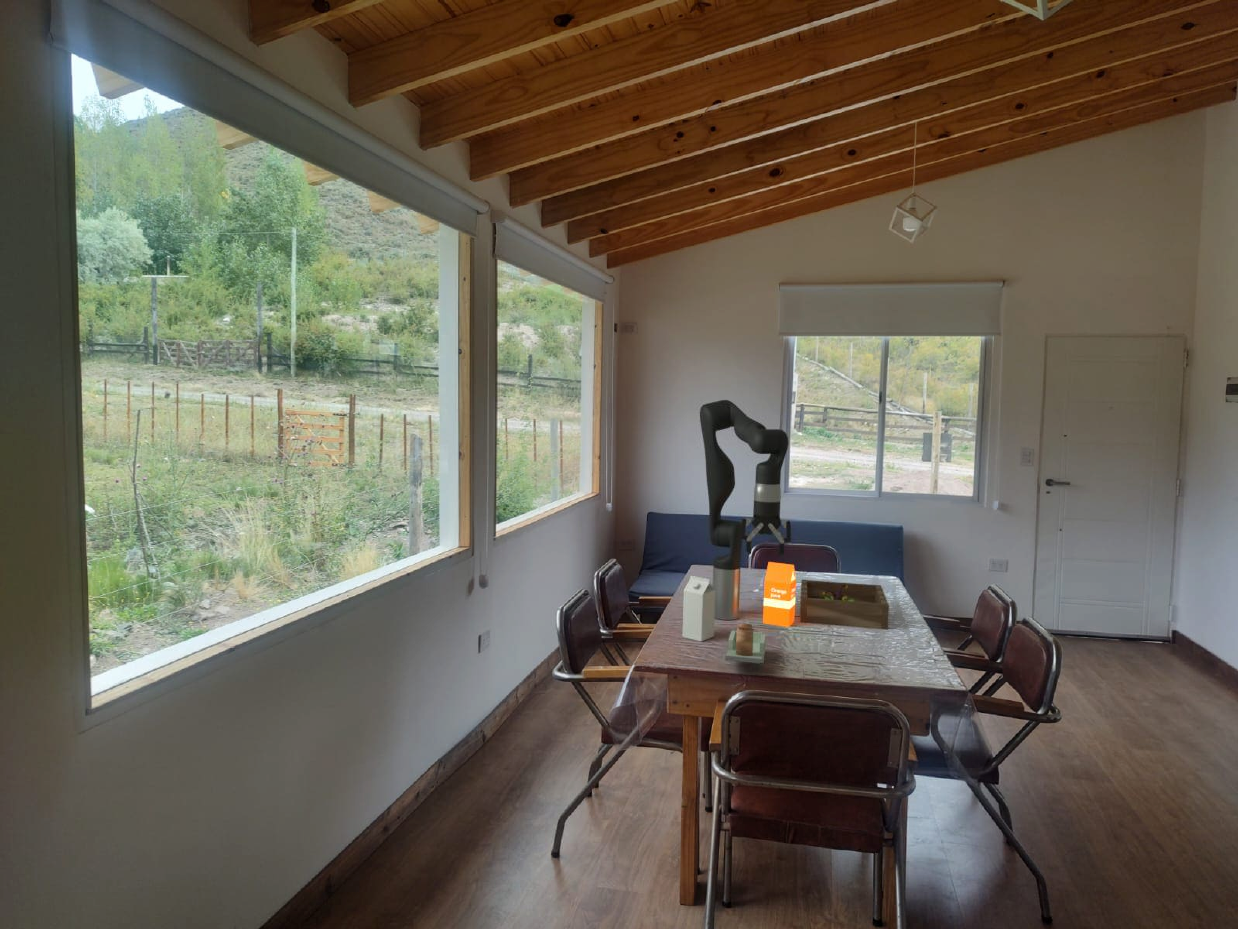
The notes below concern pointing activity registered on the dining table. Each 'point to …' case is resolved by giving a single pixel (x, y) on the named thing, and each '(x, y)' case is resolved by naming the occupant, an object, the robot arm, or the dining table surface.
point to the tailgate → (744, 657)
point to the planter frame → (844, 605)
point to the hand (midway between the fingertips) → (764, 554)
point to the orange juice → (779, 594)
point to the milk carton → (698, 609)
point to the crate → (757, 642)
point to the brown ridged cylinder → (744, 640)
